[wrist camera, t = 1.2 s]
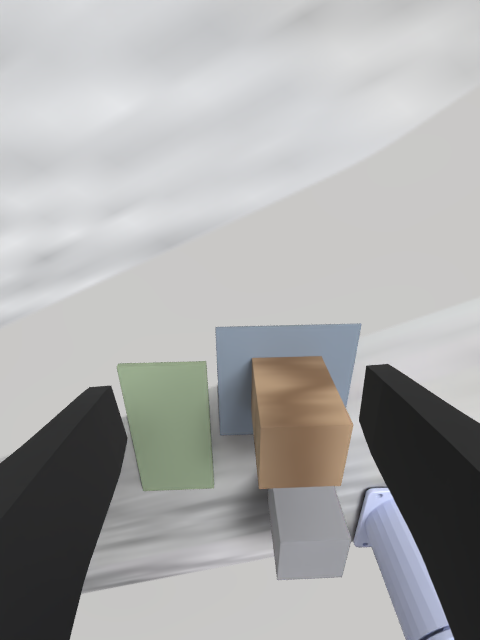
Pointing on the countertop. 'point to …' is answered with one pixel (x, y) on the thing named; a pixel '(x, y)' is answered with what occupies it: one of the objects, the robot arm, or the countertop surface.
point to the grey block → (308, 532)
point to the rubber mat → (169, 423)
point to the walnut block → (298, 423)
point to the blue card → (276, 342)
